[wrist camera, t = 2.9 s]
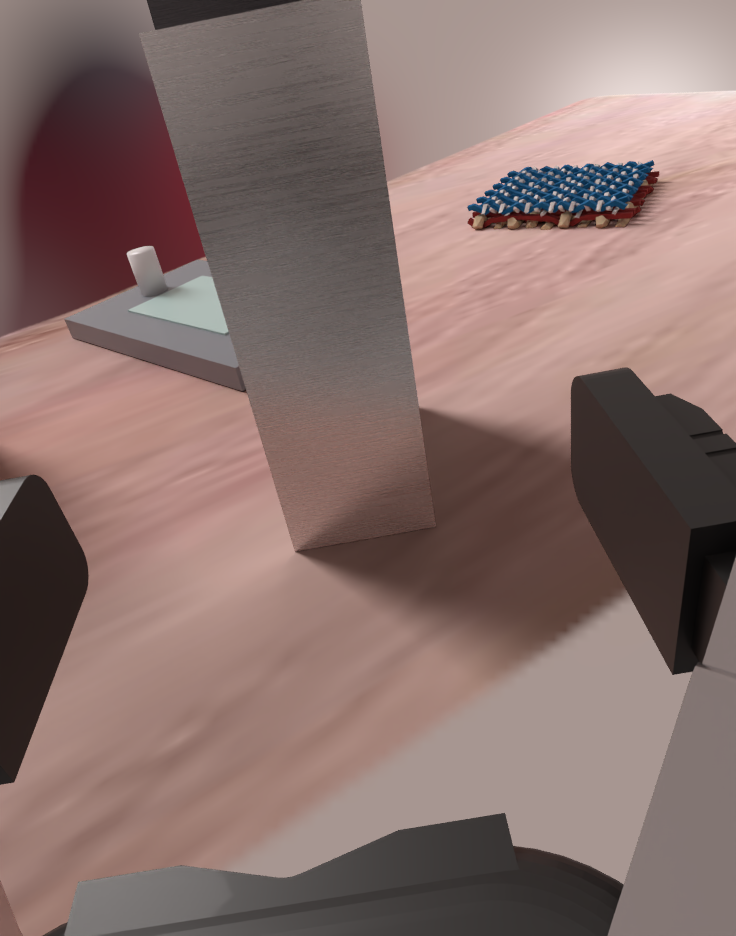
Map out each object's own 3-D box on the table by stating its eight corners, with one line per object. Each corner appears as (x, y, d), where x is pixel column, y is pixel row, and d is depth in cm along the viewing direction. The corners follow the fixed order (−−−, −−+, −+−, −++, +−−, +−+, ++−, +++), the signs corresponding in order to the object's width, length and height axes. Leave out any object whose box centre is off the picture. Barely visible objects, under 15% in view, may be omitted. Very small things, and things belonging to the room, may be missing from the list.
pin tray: (381, 306, 37) (369, 238, 35) (242, 391, 32) (219, 315, 29) (202, 276, 47) (185, 221, 45) (72, 337, 41) (46, 278, 39)
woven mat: (631, 237, 41) (633, 202, 40) (464, 238, 46) (462, 207, 45) (662, 187, 48) (665, 156, 47) (515, 192, 53) (513, 165, 52)
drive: (294, 551, 22) (128, -2, 14) (297, 423, 28) (187, -1, 20) (436, 526, 22) (353, -48, 13) (405, 403, 28) (338, -32, 20)
